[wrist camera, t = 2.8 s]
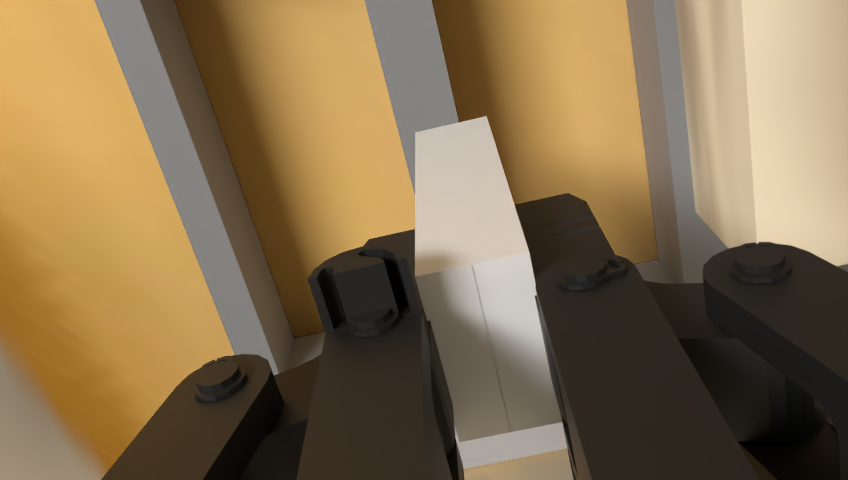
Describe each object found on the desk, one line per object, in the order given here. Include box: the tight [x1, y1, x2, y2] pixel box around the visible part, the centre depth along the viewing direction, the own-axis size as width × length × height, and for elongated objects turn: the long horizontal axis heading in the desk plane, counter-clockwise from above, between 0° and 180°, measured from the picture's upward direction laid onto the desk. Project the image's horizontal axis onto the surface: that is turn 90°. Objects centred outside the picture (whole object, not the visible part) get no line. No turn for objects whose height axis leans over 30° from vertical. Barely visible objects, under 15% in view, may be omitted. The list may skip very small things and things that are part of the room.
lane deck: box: [95, 0, 848, 469], centre depth 18 cm, size 32×18×6 cm, turn 103°
